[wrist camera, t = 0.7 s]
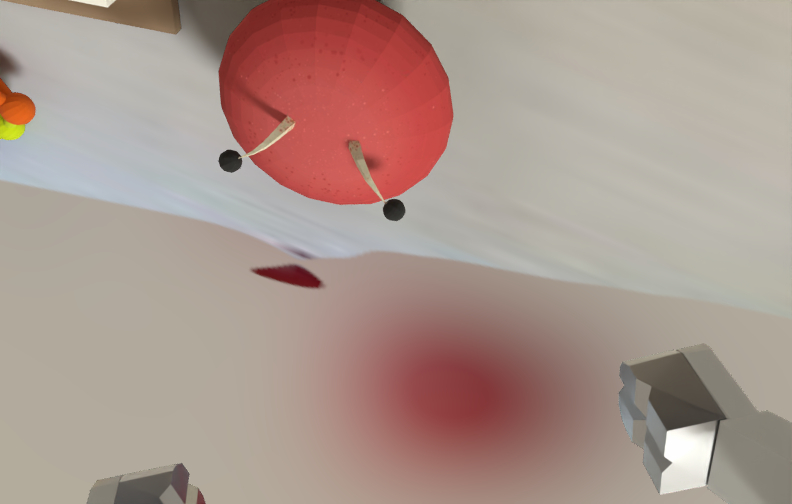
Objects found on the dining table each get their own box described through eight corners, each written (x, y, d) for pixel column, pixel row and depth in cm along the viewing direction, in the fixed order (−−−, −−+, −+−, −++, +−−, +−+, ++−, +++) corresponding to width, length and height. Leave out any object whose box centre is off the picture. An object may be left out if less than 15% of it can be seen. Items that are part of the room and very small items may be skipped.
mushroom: (246, 100, 54) (169, 220, 43) (274, -96, 43) (180, 3, 32) (426, 164, 55) (394, 296, 45) (500, -10, 44) (480, 112, 33)
